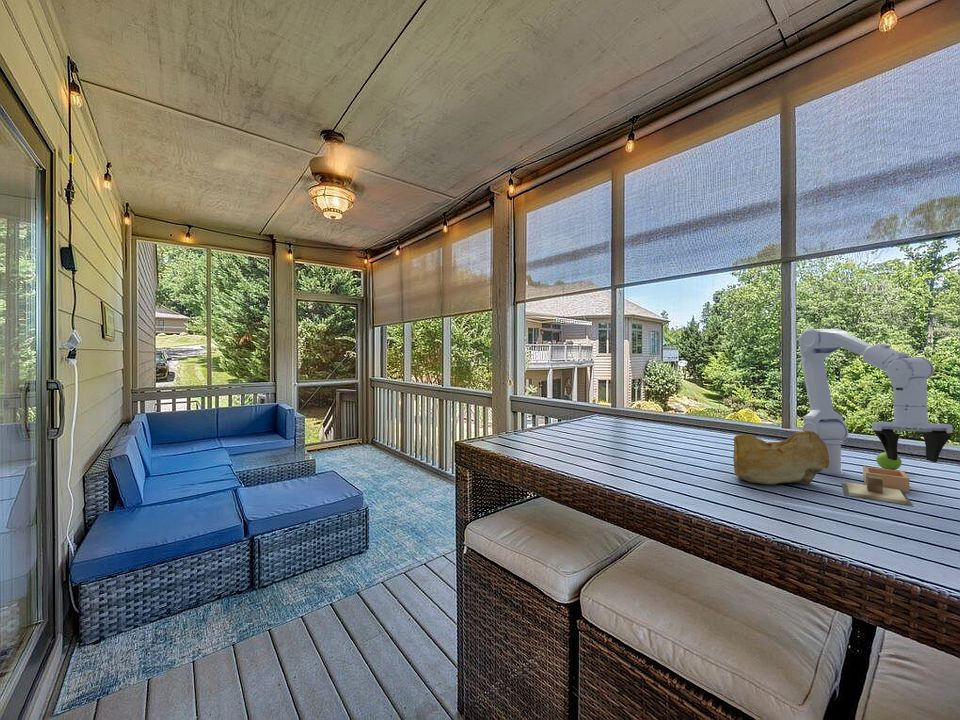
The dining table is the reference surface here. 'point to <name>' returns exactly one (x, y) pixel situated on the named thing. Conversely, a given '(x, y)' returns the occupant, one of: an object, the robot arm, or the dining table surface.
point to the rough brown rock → (780, 458)
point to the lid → (875, 491)
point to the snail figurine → (888, 461)
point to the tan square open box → (888, 478)
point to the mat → (875, 499)
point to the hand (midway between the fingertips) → (911, 460)
